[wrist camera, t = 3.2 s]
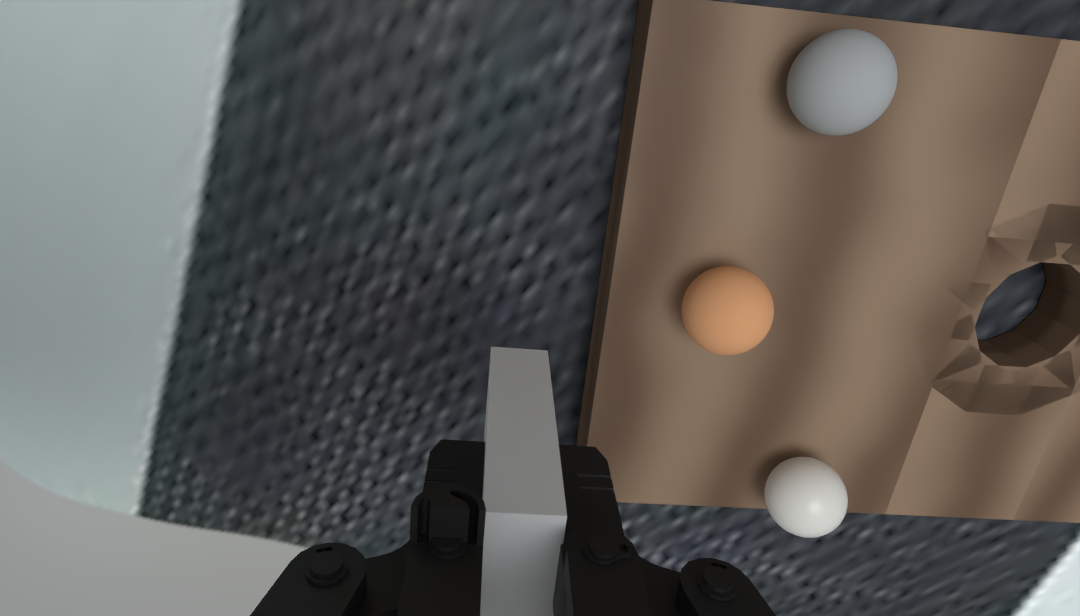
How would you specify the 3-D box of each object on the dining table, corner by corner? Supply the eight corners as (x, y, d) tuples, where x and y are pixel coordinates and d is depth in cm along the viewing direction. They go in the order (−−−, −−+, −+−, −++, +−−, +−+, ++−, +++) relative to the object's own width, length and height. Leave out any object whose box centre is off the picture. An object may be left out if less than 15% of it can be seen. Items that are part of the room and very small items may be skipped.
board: (573, 465, 32) (578, 500, 30) (639, -5, 24) (654, -6, 22) (1052, 488, 34) (1092, 523, 32) (1257, 63, 26) (1329, 68, 24)
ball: (666, 328, 27) (686, 368, 24) (680, 250, 25) (703, 282, 22) (746, 334, 27) (776, 373, 24) (764, 257, 26) (798, 289, 23)
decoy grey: (762, 122, 24) (799, 138, 21) (784, 22, 22) (827, 24, 19) (851, 131, 24) (900, 148, 21) (877, 32, 23) (933, 36, 20)
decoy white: (746, 500, 30) (772, 553, 27) (762, 439, 29) (792, 488, 26) (816, 503, 31) (849, 556, 28) (835, 443, 29) (872, 491, 26)
